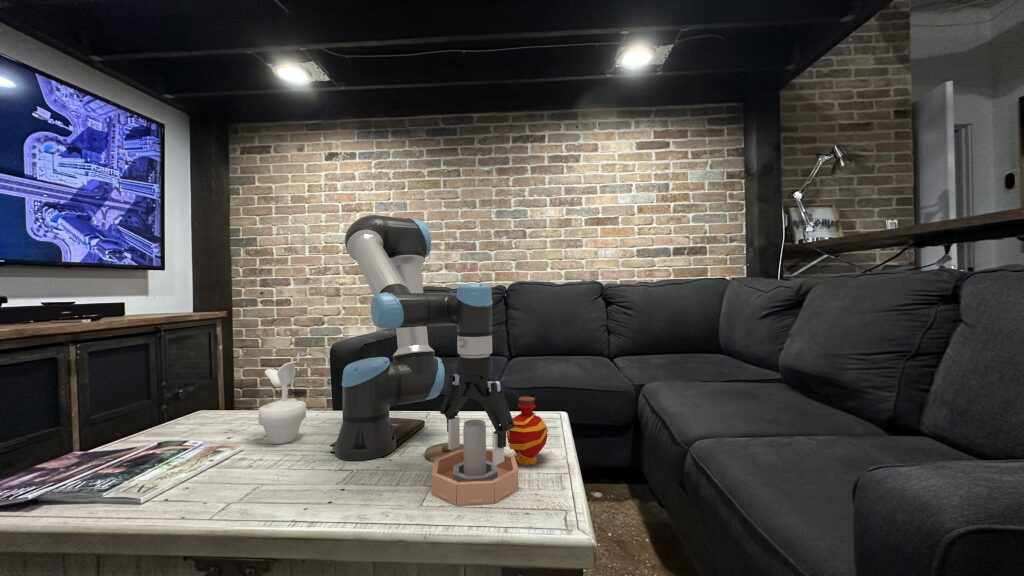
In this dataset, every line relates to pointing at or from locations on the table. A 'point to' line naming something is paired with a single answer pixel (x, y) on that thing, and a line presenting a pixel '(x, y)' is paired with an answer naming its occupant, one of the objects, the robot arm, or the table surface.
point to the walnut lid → (440, 451)
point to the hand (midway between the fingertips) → (475, 455)
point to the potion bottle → (527, 432)
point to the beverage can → (474, 447)
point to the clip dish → (476, 486)
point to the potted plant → (282, 407)
